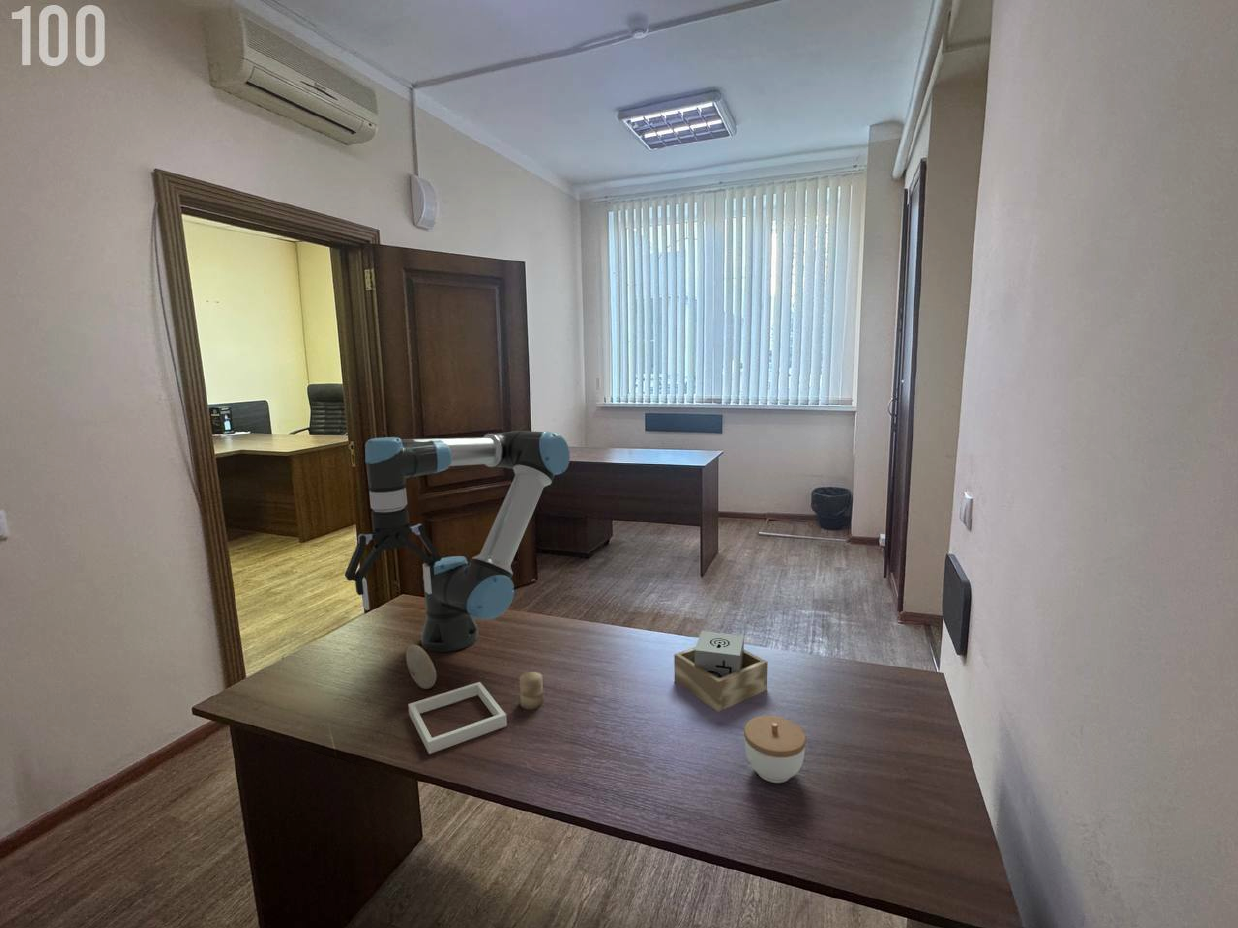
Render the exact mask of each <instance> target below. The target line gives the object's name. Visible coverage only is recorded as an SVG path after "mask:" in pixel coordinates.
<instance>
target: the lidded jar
mask: <svg viewBox="0 0 1238 928" xmlns="http://www.w3.org/2000/svg"><path fill="white" fill-rule="evenodd" d="M743 736H744V748H745V754H746V757H747V760H748V762H749V764H750V766H751V767H752V769H753V770H754V771H755V773H757V774H758V776H759V777H760V778H761V779H763V780H764V781H766V782H769V783H773V784H783V783H786V782H789V780H790V779H792V778H793V777H795V775H797V774H798V772H799V771H800V769H801V767H802V764H803V762H804V758H805V750H806V747H805V746H806V743H807V742H806V741H807V739H806V734H805V732H804V731H803V729H802V728H801V726H799V725H798V724H797V723H795V722H794V721H792V720H790V719H787V718H784V717H780V716H775V715H762V716H761V715H760V716H757V717H754V718H752V719H750V720H749V721H748V722H746V724H745V725H744V729H743Z"/></svg>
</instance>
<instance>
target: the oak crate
mask: <svg viewBox="0 0 1238 928" xmlns="http://www.w3.org/2000/svg"><path fill="white" fill-rule="evenodd" d="M695 647H696V646H695ZM695 647H692V648H688V649H685V650H683V651H679V652H677V653H674V656H673V657H674V660H673V661H674V682H675V683H677V684H678V685H679V686H681V687H682V688H683V689H684V690H686V691H688V692H689V693H690V694H692V695H693V696H695V697H696V698H697V699H699V700H700V701H702V703H703V702H704V703H705V704H706V705H707V706H709V707H710V708H711V709H713V710H715V711H716V712H717V713H719V712H722V711H724V710H726V709H729V708H730V707H732V706H735V705H737V704H738V703H742V702H744V701H746V700H749V698H752V697H755V696H756V695H759V694H761V693H763V692H766V691H767V690H768V663H769V662H768V661H767V660H764V659H763V658H761V657H759V656H758V655H755V654H754V653H751V652H750V651H748V650H745V649H744V652H743V669H741V670H740V672H738V671H736V672H734V673H731V674H729V675H726V676H724V677H721V678H717V677H715V676H714V675H712V674H711V673H709V672H707V671H706V670H704V669H703V668H701V667H699V666H694V661H695Z"/></svg>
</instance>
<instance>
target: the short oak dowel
mask: <svg viewBox="0 0 1238 928" xmlns="http://www.w3.org/2000/svg"><path fill="white" fill-rule="evenodd" d="M543 691H544V689H543V675H542V673H540V672H537V671H529V672H524V673H523V674H522V675H520V676H519V697H520V700H519V701H520V706H521V707H522V708H524V709H526V710H534V709H535V710H536V709H538V708H540V707H542V705H543V704H544V692H543Z"/></svg>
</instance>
